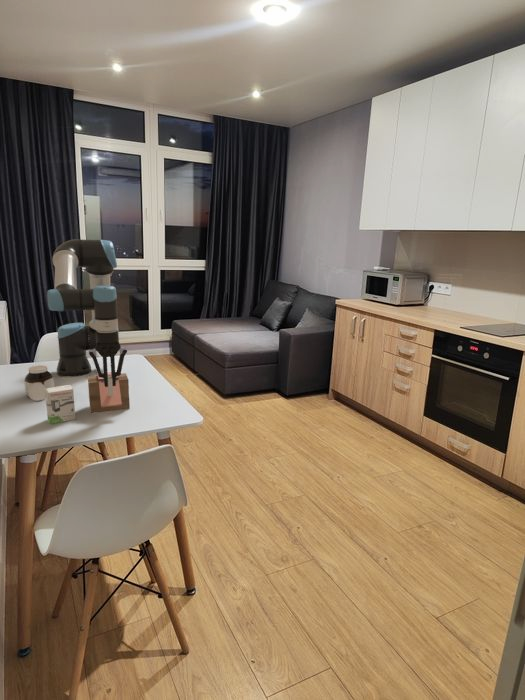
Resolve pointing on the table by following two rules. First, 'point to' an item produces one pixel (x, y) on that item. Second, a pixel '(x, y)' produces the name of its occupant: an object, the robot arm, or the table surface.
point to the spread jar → (38, 382)
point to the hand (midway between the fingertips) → (110, 394)
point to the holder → (95, 394)
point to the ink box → (60, 404)
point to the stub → (110, 400)
